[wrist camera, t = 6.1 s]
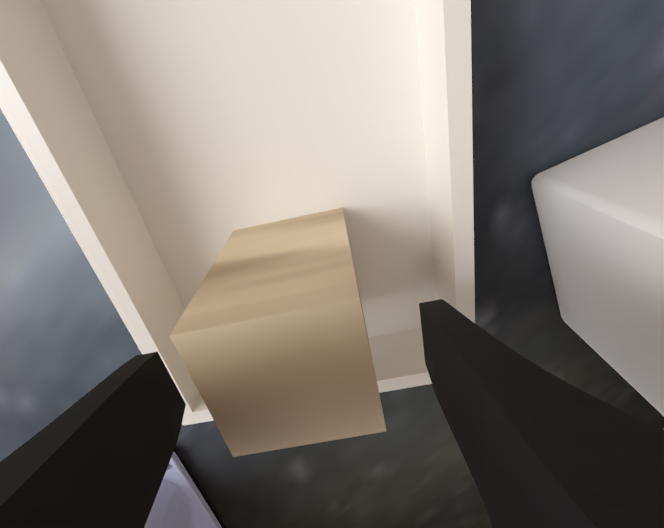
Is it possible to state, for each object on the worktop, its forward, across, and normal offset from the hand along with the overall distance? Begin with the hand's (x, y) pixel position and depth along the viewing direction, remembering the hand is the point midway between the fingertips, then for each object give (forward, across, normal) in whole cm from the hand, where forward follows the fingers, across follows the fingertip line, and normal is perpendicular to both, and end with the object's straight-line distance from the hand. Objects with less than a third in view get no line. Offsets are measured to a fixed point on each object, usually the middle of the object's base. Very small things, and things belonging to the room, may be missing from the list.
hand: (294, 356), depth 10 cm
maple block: (+4, 0, 0) cm, 5 cm away
